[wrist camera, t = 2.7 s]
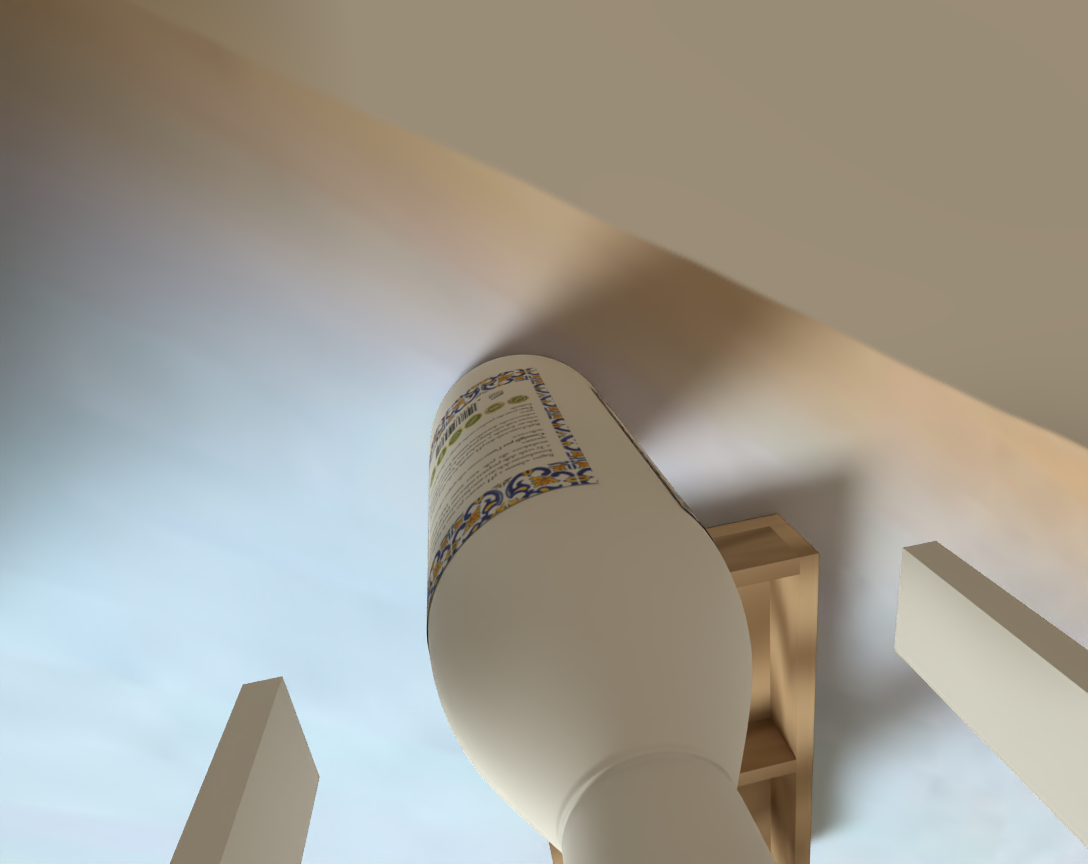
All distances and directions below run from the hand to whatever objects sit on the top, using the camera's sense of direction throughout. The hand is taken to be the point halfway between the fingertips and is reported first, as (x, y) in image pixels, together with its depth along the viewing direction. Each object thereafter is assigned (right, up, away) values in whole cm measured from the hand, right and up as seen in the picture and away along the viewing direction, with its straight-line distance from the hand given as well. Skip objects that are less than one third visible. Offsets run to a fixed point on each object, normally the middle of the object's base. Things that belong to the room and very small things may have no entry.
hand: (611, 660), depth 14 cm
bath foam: (-2, +5, +12) cm, 13 cm away
